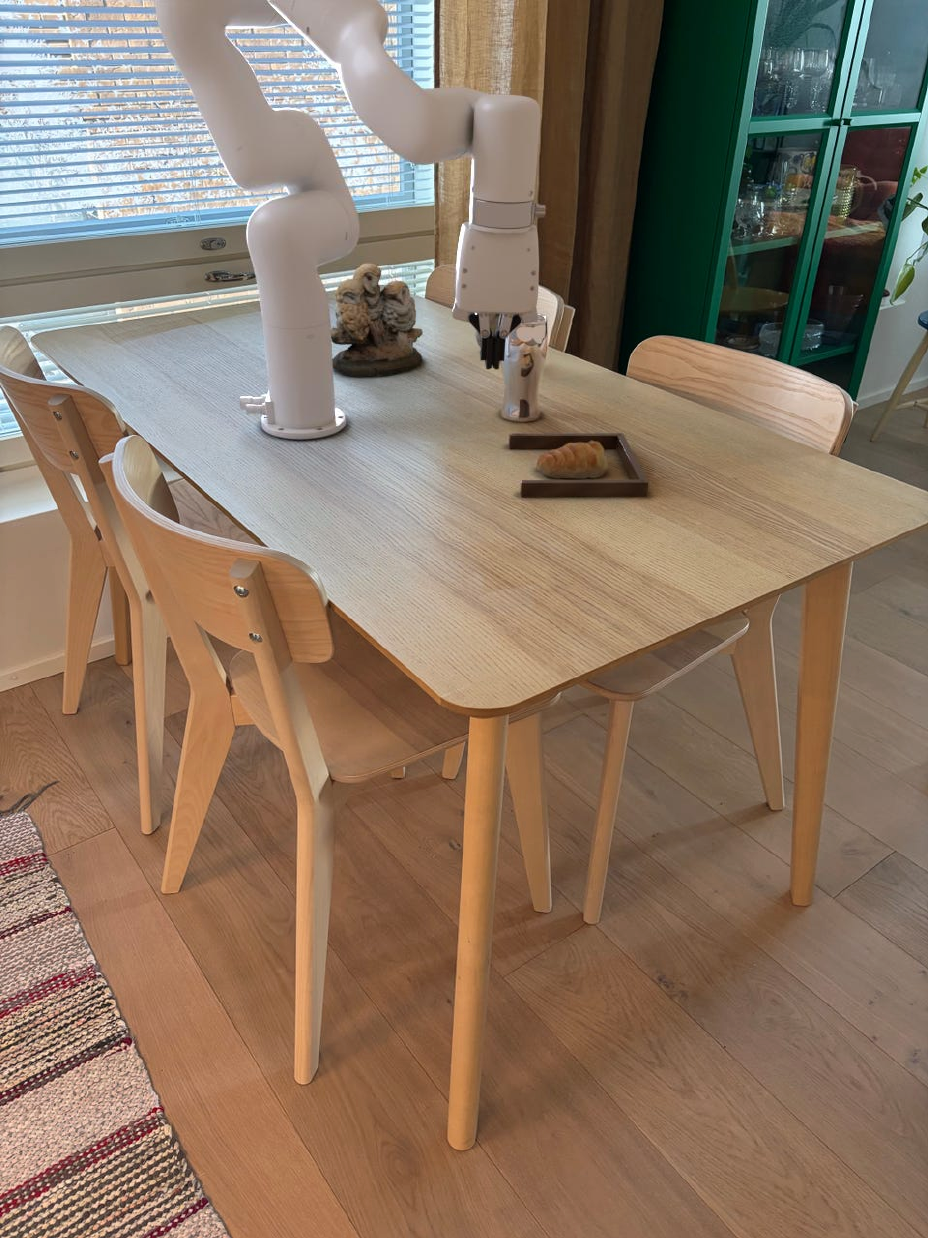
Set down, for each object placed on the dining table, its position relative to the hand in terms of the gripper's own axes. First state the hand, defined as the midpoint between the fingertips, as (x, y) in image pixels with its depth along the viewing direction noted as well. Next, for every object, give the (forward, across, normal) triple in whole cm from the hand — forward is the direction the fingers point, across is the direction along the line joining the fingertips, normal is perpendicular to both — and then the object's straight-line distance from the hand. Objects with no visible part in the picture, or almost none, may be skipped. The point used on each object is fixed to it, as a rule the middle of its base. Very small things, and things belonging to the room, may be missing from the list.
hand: (491, 365), depth 123 cm
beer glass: (+15, -7, -20) cm, 26 cm away
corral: (+14, -12, +1) cm, 19 cm away
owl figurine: (+16, +16, -44) cm, 50 cm away
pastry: (+14, -12, +1) cm, 19 cm away
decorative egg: (+15, -5, -52) cm, 55 cm away
